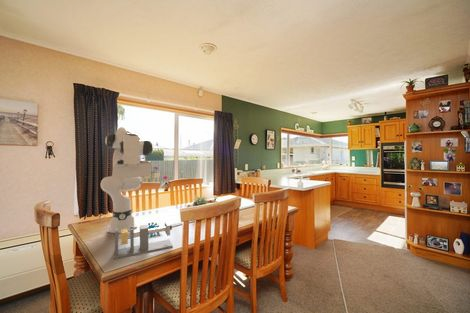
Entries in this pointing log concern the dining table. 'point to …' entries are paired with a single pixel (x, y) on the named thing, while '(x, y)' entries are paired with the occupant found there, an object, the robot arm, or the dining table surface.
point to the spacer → (124, 236)
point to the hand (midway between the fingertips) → (132, 185)
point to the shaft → (153, 230)
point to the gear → (152, 227)
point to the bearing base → (143, 246)
